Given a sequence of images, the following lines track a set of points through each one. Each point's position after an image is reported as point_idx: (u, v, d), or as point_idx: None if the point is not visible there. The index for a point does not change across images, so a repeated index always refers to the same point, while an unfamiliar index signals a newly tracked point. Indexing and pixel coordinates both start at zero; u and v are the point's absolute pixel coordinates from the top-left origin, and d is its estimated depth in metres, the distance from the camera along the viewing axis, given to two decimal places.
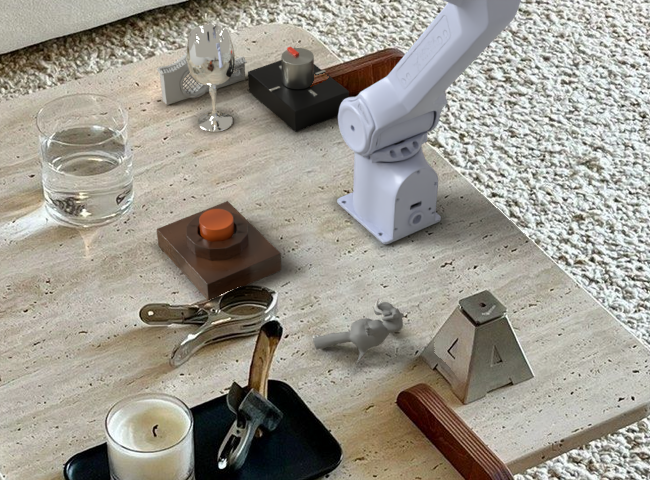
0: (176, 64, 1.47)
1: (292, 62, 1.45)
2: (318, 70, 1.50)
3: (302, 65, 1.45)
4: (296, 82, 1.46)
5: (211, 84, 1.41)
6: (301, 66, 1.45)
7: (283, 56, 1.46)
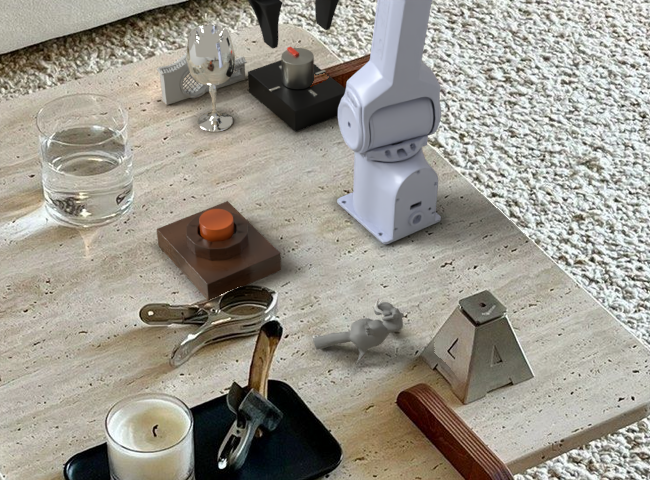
0: (176, 64, 1.47)
1: (292, 62, 1.45)
2: (318, 70, 1.50)
3: (302, 65, 1.45)
4: (296, 82, 1.46)
5: (211, 84, 1.41)
6: (301, 66, 1.45)
7: (283, 56, 1.46)
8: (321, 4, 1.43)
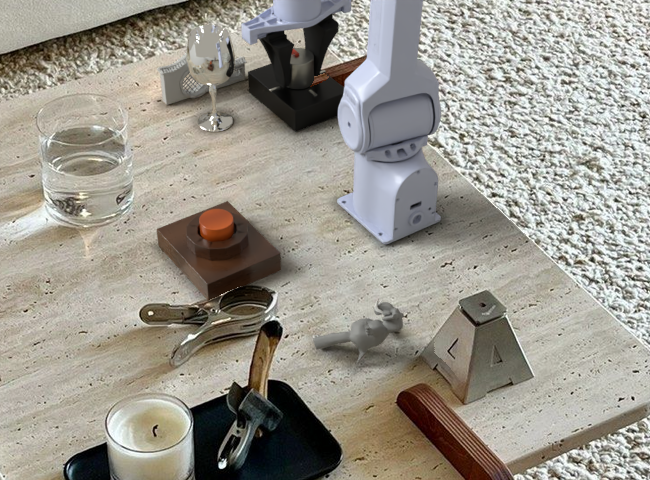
0: (176, 64, 1.47)
1: (292, 62, 1.45)
2: None
3: (302, 65, 1.45)
4: (296, 82, 1.46)
5: (211, 84, 1.41)
6: (301, 66, 1.45)
7: None
8: (311, 51, 1.47)
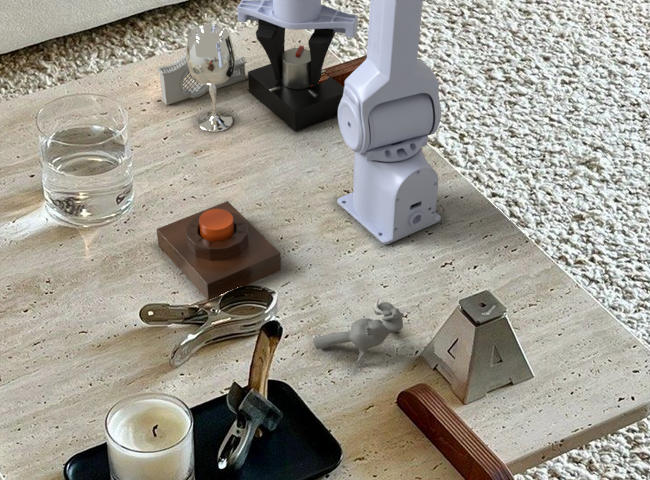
0: (176, 64, 1.47)
1: (285, 58, 1.46)
2: None
3: (289, 64, 1.45)
4: (284, 79, 1.47)
5: (211, 84, 1.41)
6: (288, 65, 1.45)
7: (287, 50, 1.47)
8: None
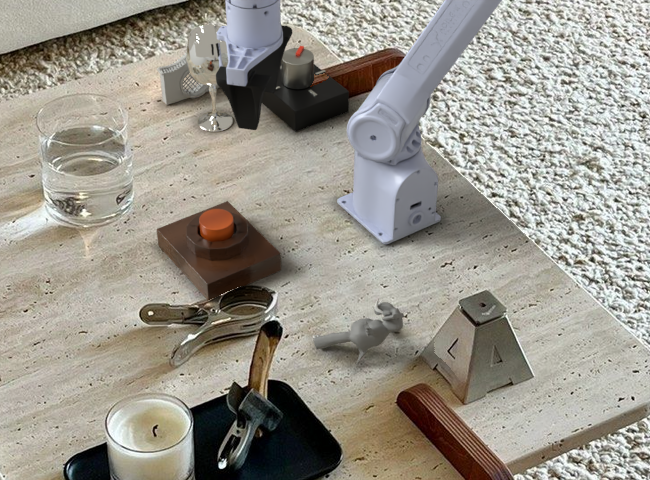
0: (176, 64, 1.47)
1: (285, 58, 1.46)
2: (318, 70, 1.50)
3: (289, 64, 1.45)
4: (284, 78, 1.47)
5: (211, 84, 1.41)
6: (288, 65, 1.45)
7: (288, 50, 1.47)
8: (263, 68, 1.33)
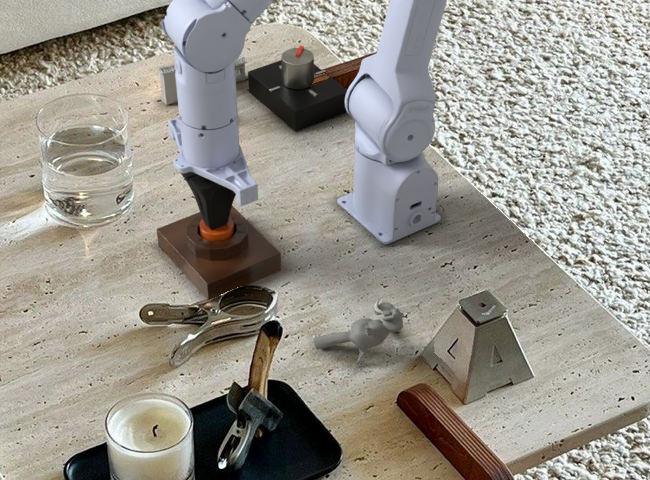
0: None
1: (285, 58, 1.46)
2: (318, 70, 1.50)
3: (289, 64, 1.45)
4: (284, 78, 1.47)
5: None
6: (288, 65, 1.45)
7: (288, 50, 1.47)
8: None
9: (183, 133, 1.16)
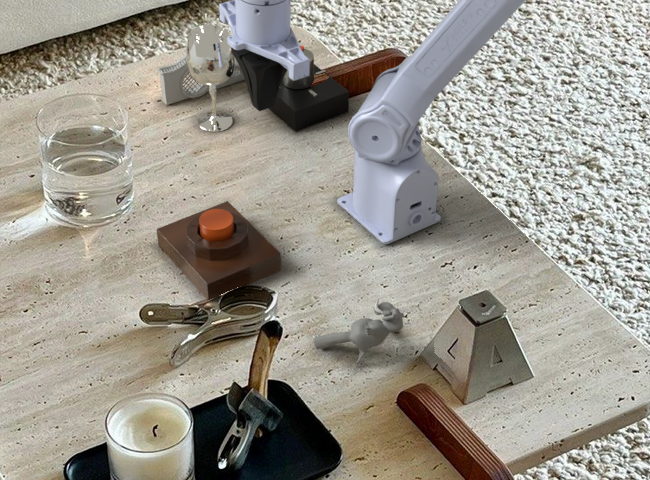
0: (176, 64, 1.47)
1: None
2: (318, 70, 1.50)
3: None
4: (284, 78, 1.47)
5: (211, 84, 1.41)
6: None
7: None
8: None
9: (239, 10, 1.21)
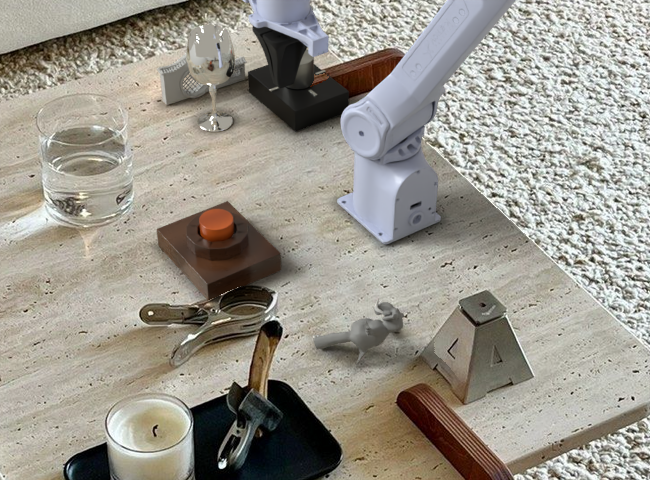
0: (176, 64, 1.47)
1: None
2: (318, 70, 1.50)
3: None
4: None
5: (211, 84, 1.41)
6: None
7: None
8: None
9: None
